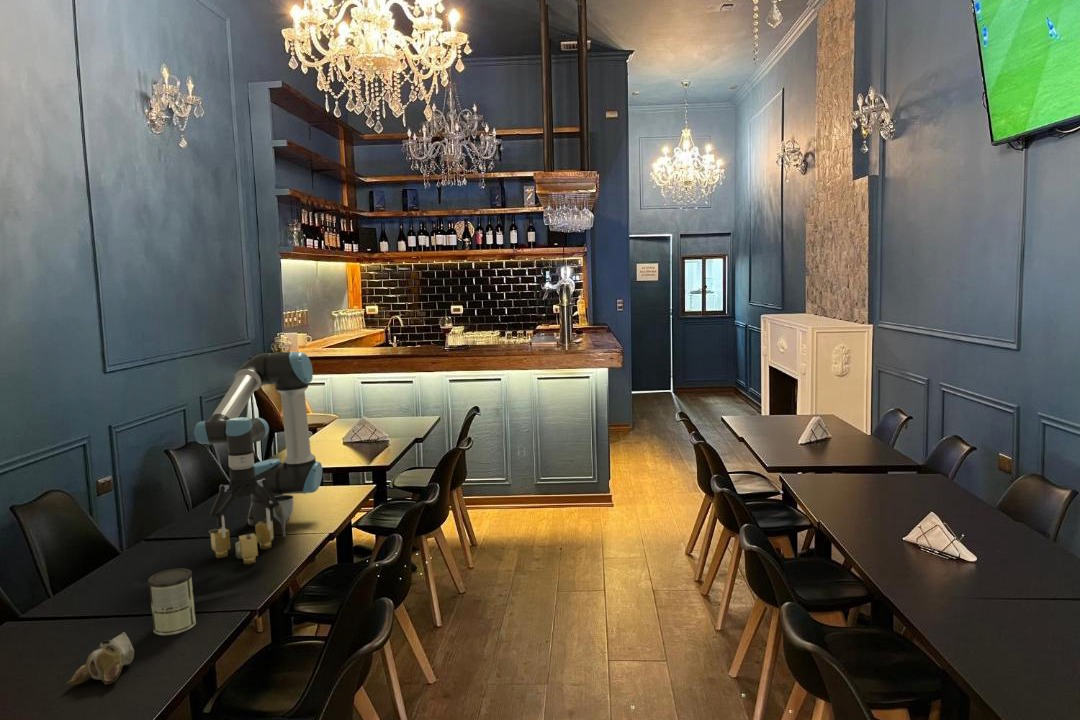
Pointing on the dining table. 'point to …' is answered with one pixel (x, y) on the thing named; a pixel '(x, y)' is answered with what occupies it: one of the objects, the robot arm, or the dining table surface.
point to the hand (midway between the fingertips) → (246, 532)
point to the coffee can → (172, 601)
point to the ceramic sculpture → (106, 661)
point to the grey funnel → (283, 509)
